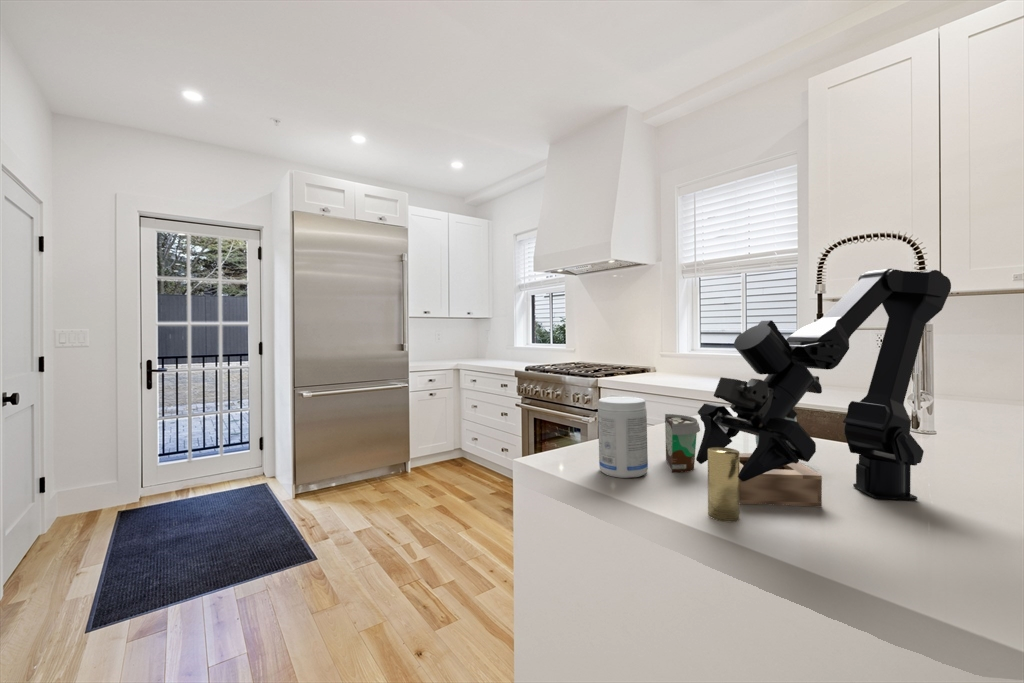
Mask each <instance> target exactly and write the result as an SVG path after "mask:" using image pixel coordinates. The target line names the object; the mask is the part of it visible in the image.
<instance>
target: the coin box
mask: <svg viewBox="0 0 1024 683" xmlns="http://www.w3.org/2000/svg"><path fill="white" fill-rule="evenodd" d="M752 453H753V452H752ZM752 453H750V452H749V453H743V452H739V457H740V471H741V469H742V467H743V466H744V465H745V463H746V462H747V460H748V459H749V457H750V456H751V455H752ZM822 479H823V476H822V474H820V473H818V472H816V471H814V470H813V469H811V468H809V466H806V465H804V464H803V463H801V462H800V461H799V462H798V463H797V464H796V463H790V464H787V465H784V466H781V467H778V468H776V469H773V470H770V471H768V472H765V473H763V474H761V475H758V476H756V477H754V478H751V479H749V480H747V481H744V482H743V481H741V480H740V504H743V505H744V504H745V505H762V504H772V505H771V506H788V505H796V506H795V507H813V506H822V504H823V501H822V500H823V497H822V496H823V495H822V494H823V493H822V492H823V491H822V489H823V485H822V484H823V482H822V481H823V480H822ZM773 504H774V505H773ZM797 505H798V506H797Z"/></svg>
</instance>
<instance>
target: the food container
mask: <svg viewBox="0 0 1024 683" xmlns="http://www.w3.org/2000/svg"><path fill="white" fill-rule="evenodd" d="M664 423H665V424H664V427H665V428H664V432H665V461H666V463H667V465H668V467H669V469H670V471H671V472H670V473H673V474H674V473H675V474H680V473H681V474H683V473H688V472H692V471H694V469H695V464H696V463H695V462H696V461H695V460H696V449H697V448H696V447H697V435H698V434H697V433H700V432H701V428H700V423H699V421H698V419H697V418H695V417H693V416H689V415H682V414H677V413H676V414H674V413H664Z"/></svg>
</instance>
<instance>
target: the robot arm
mask: <svg viewBox="0 0 1024 683" xmlns="http://www.w3.org/2000/svg"><path fill="white" fill-rule="evenodd" d="M951 289H952V282H951V280H950V279H949V277H948V276H946V275H945V274H944V273H943V272H941V271H940V270H937V269H934V270H933V269H932V270H924V271H909V270H901V269H900V270H899V269H894V268H884V269H878V270H877V269H876V270H871V271H866V272H864V273H862V274H860V275H859V277H858V280H857V281H856V283H855V284H854V285H853V286H852V287H851V288H850V289H849V290H847V292H846V293H845V294H844V295H843V296H842V297H841V298H840V299H839V300H838V301H837V302H836V303H835V304H834V305H833V306H832V307H830V308H829V310H828V311H827V312H826V313H825V314H824V315H822V317H821V318H820V319H818V320H816V321H813V322H812V323H809V324H807V325H804V326H802V327H800V328H799V329H798V330H796V331H794V332H793V333H792V334H790V335H789V336H788V337H787V338H786V337H784V335H783V334H782V333H781V331H780V330H779V329H778V326H777V325H776V324H775V322H774V321H773V320H761V321H759V323H758V324H756V325H754V326H752V327H750V328H748V329H746V330H745V331H743V332H741V333H739V334H738V335H737V336H736V338H735V339H734V342H733V346H734V348H735V350H736V351H737V352H738V354H740V355H741V357H742V358H743V359H744V360H745V361H746V362H747V364H748V365H749V366H750V367H751V368H752V370H754V372H755V373H756V374H758V375H766V377H765V378H764V380H763V379H759V378H750V379H749V380H748V381H746V380H741V379H736V378H729V377H723V376H722V377H721V376H720V378H719V381H718V383H717V386H716V388H715V391H714V394H713V397H714V398H717V399H721V400H723V401H725V402H727V403H729V404H730V406H729V408H730V409H731V410H732V412H734V413H735V414H737V415H736V416H733V414H732V413H731V412H730V411H729V410H728V409H727V407H725V405H720V404H715V403H711V402H710V403H708V402H707V403H703V404H702V406H701V407H700V408H699V409H698V411H697V414H698V415H699V416H700V420H701V421H702V422H703V427H704V431H703V436H702V440H701V443H700V445H699V450H698V452H697V455H696V457H695V460H696V461H697V463H698V464H699V465H702V464H704V463H705V462H708V448H712V447H724V448H727V446H728V445H730V444H731V443H733V440H732V439H731V438H733V437H734V438H735V437H736V436H737V435H738V434H739V433H740V432H741V433H746V434H750V435H753V436H755V435H756V436H759V441H758V446H757V445H756V447H755V449H754V450H753V452H752V455H751V456H750V457H749V459H748V460H747V462H746V463H745V465H744V466H743V467H742V469H741V471H740V473H739V475H738V478H739V479H740V480H741V481H743V482H744V481H747V480H749V479H751V478H754V477H756V476H758V475H761V474H763V473H765V472H768V471H770V470H773V469H776V468H778V467H781V466H784V465H787V464H790V463H796V464H797V463H798V462H799V463H800V461H803V462H805V463H806V462H807V463H808V462H810V460H811V459H812V457H813V456H814V455H815V453H816V452H817V451H816V449H817V445H816V442H815V441H814V439H813V438H812V437H811V436H810V435H809V433H807V431H806V430H805V429H804V427H803V426H802V425H801V424H800V422H798V421H797V422H796V421H791V420H786V417H787V418H791V419H794V418H795V417H796V418H797V415H798V413H797V412H796V410H794V408H795V407H796V406H797V404H799V402H800V401H801V400H802V398H804V396H805V394H806V393H810V394H811V393H812V394H813V393H814V394H822V392H823V389H822V385H821V383H820V376H818V375H813V374H812V372H811V371H810V369H816V370H827V371H828V370H833V369H835V368H836V367H838V366H839V365H840V363H841V361H842V360H843V359H844V357H845V356H846V354H847V353H848V351H849V350H850V338H851V336H852V335H853V334H854V333H855V332H856V330H858V329H859V328H860V327H861V325H863V324H864V322H866V320H867V319H868V318H870V316H871V315H872V314H873V313H874V312H875V311H876V310H877V309H878V308H879V307H880V305H882V307H883V309H884V311H885V314H886V315H887V317H888V320H887V323H886V327H885V329H884V330H885V331H884V335H883V337H882V341H881V345H880V349H879V352H878V355H877V359H876V362H875V366H874V369H873V372H872V377H871V381H870V383H869V384H870V385H869V386H868V391H867V394H866V396H864V397H863V398H862V399H861V400H859V401H858V400H857V401H856V400H851V401H850V402H849V403H848V406H847V413H846V414H845V417H844V419H843V420H842V422H843V424H844V427H843V433H844V435H845V438H846V442H847V445H848V450H849V452H850V454H851V453H852V454H858V463H856V464H855V483H852V485H853V486H852V487H854V488H855V489H857V490H859V491H861V492H863V493H864V494H866V495H868V496H870V497H872V498H873V499H878V500H879V499H880V500H900V501H901V500H902V501H904V500H905V501H918V496H916V495H914V494H912V493H911V476H912V474H911V473H912V472H911V470H912V468H911V466H914V467H915V466H918V464H921V463H922V461H923V457H924V453H925V452H924V449H923V448H922V447H921V445H920V444H919V443H918V442H917V441H916V439H915V438H914V436H913V435H912V434H911V426H912V420H911V418H910V416H909V414H908V412H907V409H906V407H905V404H904V403H905V400H906V395H907V391H908V389H909V386H910V382H911V378H912V375H913V371H914V366H915V363H916V359H917V356H918V352H919V349H920V345H921V341H922V337H923V333H924V331H925V327H926V325H927V323H928V322H930V321H931V320H932V319H933V318H934V317H935V316H937V315H938V314H939V313H940V312H941V311H942V310H943V309H944V306H945V303H946V301H947V299H948V297H949V294H950V292H951Z"/></svg>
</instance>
